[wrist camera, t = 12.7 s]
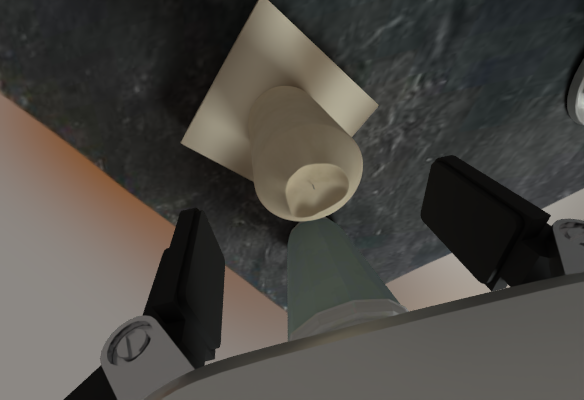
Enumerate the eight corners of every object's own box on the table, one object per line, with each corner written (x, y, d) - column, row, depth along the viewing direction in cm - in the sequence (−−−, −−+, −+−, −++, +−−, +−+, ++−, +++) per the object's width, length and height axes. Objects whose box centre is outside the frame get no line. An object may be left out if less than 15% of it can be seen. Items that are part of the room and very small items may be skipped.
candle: (282, 168, 22) (309, 255, 14) (232, 123, 19) (228, 199, 11) (332, 123, 20) (396, 190, 12) (286, 66, 17) (329, 105, 9)
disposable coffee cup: (300, 274, 35) (333, 407, 23) (249, 232, 29) (258, 382, 17) (367, 235, 33) (442, 359, 21) (327, 181, 27) (401, 311, 15)
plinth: (363, 96, 22) (378, 105, 20) (289, 187, 26) (294, 203, 24) (258, -2, 17) (262, -6, 15) (187, 129, 21) (180, 143, 19)
